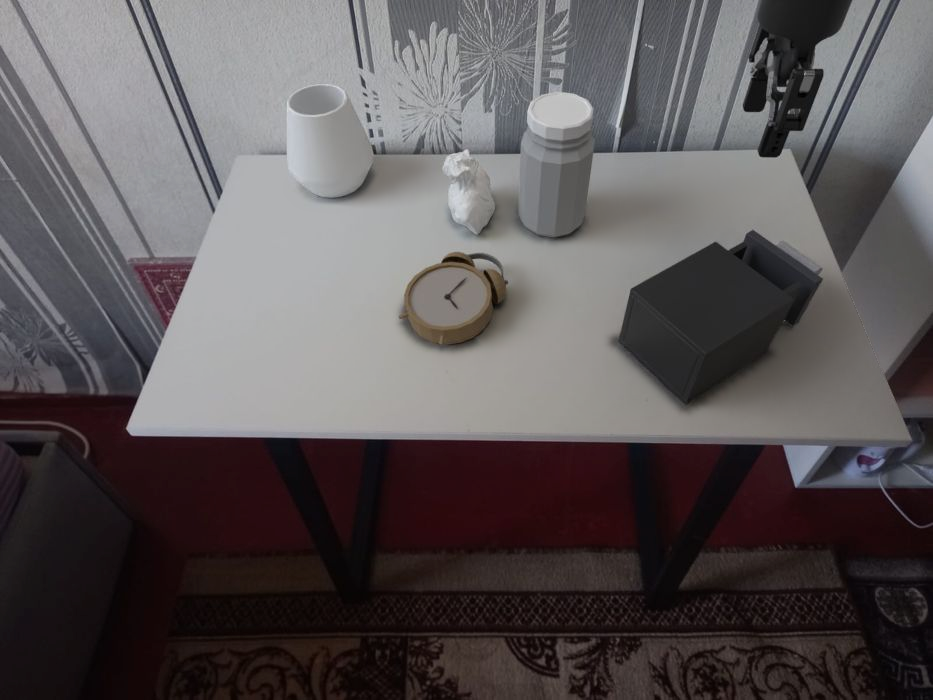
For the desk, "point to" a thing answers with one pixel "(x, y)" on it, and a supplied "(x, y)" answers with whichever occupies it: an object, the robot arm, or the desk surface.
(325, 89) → the white vase
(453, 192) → the white tied bag
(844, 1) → the robot arm
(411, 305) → the alarm clock
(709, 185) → the desk surface
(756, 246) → the drawer
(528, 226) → the jar
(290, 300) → the desk surface
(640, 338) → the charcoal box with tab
